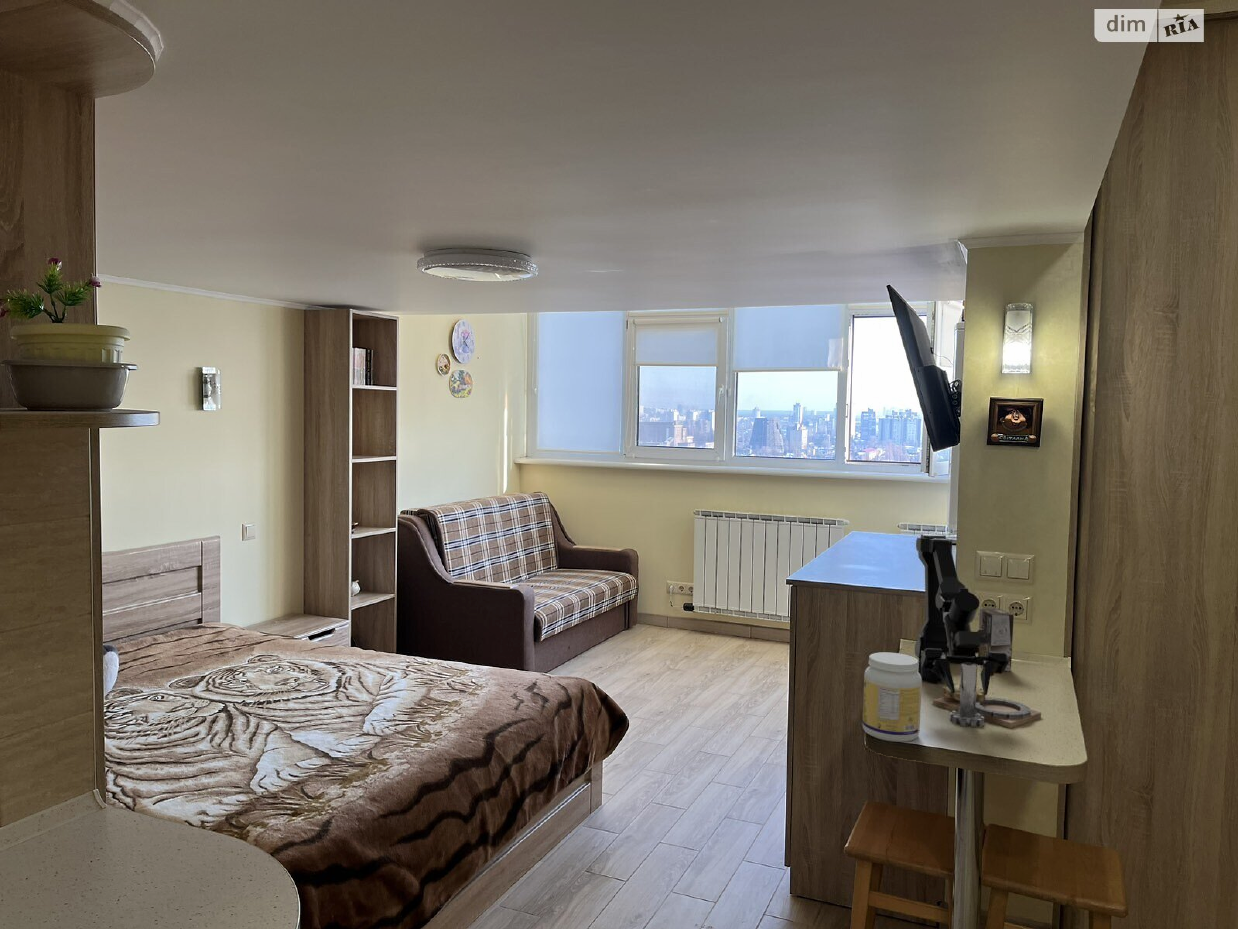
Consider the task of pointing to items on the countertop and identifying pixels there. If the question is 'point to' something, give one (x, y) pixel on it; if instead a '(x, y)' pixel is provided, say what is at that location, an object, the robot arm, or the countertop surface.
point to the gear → (967, 698)
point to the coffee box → (997, 632)
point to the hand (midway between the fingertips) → (969, 693)
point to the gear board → (990, 707)
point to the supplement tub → (892, 697)
